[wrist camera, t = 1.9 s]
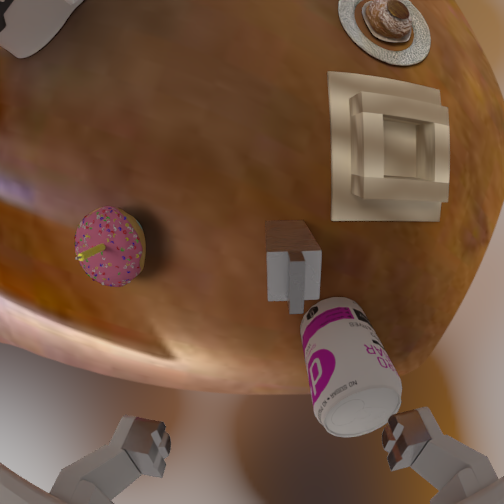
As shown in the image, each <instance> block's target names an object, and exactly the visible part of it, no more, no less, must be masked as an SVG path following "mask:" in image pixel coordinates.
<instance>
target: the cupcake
mask: <svg viewBox="0 0 504 504" xmlns="http://www.w3.org/2000/svg"><path fill="white" fill-rule="evenodd" d="M75 238H76V239H75V251H76V253H75V254H76V256H77V257H76V259H77V260H79V262H80V264H81V266H82V267H83V270H84V271H85V272H86V274H88V276H90V277H91V278H92V279H93V281H94V280H96V281H97V282H99V283H101V284H102V285H107V286H113V287H121V286H124V285H126V284H127V283H130V281H131V280H132V279H133V278H135V277H136V276H137V275H138V274H139V273H140V272H141V271H142V270H143V268H144V262H145V255H146V242H145V236H144V232H143V229H142V227H141V225H140V223H139V222H138V221H137V220H136V219H135V218H134V217H133V216H131V215H129V214H127V213H126V212H124V211H123V210H122V209H120V208H115V207H111V206H104V207H101V208H98V209H96V210H94V211H92V212H90V213H89V214H88V215H86V216H85V217H84V219H83V220H82V221H81V222H80V224H79V225H78V228H77V232H76V235H75Z"/></svg>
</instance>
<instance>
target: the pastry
mask: <svg viewBox="0 0 504 504" xmlns="http://www.w3.org/2000/svg"><path fill="white" fill-rule="evenodd" d="M361 1H362V0H339V3H338V14H339V18H340V21H341V23H342V25H343V27H344V29H345V31H346V32H347V34H348V35H349V36H350V37H351V39H352V40H353V41H354V42H355V43H356V44H357V45H358V46H359V47H360V48H362V49H363V50H364V51H366V52H367V53H368V54H370V55H371V56H374V57H375V58H377V59H379V60H381V61H384V62H387V63H389V64H394V65H400V66H409V65H413V64H416V63H419V62H421V61H422V60H423V59H424V58H425V57H426V56H427V55H428V53H429V50H430V45H431V38H430V31H429V28H428V25H427V23H426V21H425V19H424V18H423V16H422V15H421V13H420V12H419V11H418V10H417V9H416V8H415V7H414V5H413V4H412V3H411V2H410V1H408V0H373V1H369V2H367V3H365V5H364V6H363V8H362V14H363V18H364V20H365V22H366V24H367V26H368V28H369V29H370V31H371V33H372V34H373V35H374V36H375V37H376V38H379V39H381V40H383V41H387V42H405V41H408V40H409V38H410V34H411V27H413V31H414V39H413V43H412V45H411V46H410V47H409V48H407V49H406V50H403V51H390V50H386V49H383V48H381V47H379V46H377V45H376V44H374V43H373V42H371V41H370V40H369V39H368V38H366V37H365V36H364V34H363V33H362V32H361V31H360V29H359V28H358V26H357V24H356V21H355V17H354V10H355V7H356V6H357V4H358V3H359V2H361Z"/></svg>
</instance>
